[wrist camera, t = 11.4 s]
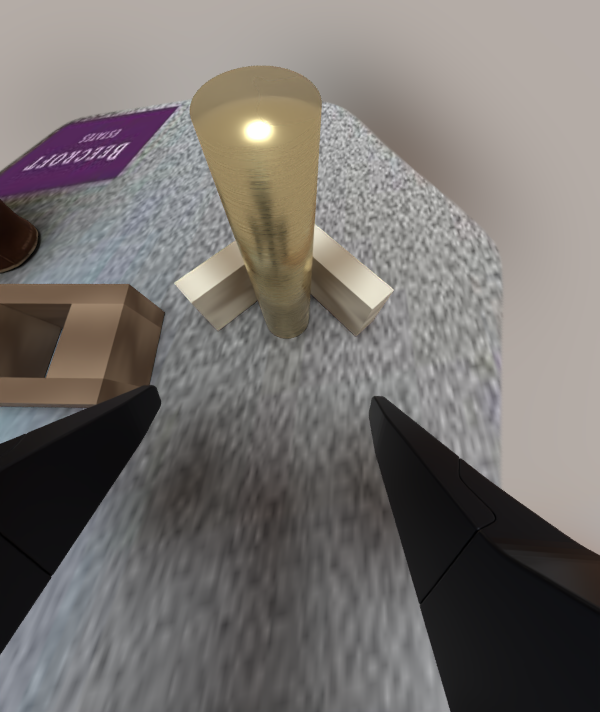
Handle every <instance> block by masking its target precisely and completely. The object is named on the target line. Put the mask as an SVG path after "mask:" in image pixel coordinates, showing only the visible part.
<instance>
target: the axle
mask: <svg viewBox="0 0 600 712" xmlns="http://www.w3.org/2000/svg"><path fill="white" fill-rule="evenodd" d="M321 108H322V100H321V96H320V93H319V91H318V90H317V88H316V87H315V85H314V84H313V83H312V82H311V81H310V80H308V79H307V78H306V77H304V76H302V75H301V74H298V73H296V72H294V71H291V70H288V69H284V68H280V67H274V66H248V67H242V68H237V69H234V70H230V71H227V72H225V73H222V74H220V75H218V76H216V77H214V78H212V79H211V80H209V81H208V82H206V83H205V84H204V85H203V86H202V87H201V88H200V89H199V90H198V91H197V92H196V94H195V95H194V97H193V99H192V101H191V105H190V117H191V120H192V123H193V125H194V128H195V131H196V133H197V136H198V139H199V142H200V144H201V147H202V150H203V152H204V155H205V158H206V161H207V163H208V166H209V169H210V172H211V174H212V177H213V180H214V182H215V185H216V188H217V191H218V193H219V196H220V199H221V202H222V204H223V207H224V210H225V212H226V215H227V218H228V221H229V223H230V226H231V229H232V231H233V234H234V237H235V240H236V242H237V245H238V248H239V251H240V253H241V256H242V259H243V261H244V264H245V267H246V270H247V272H248V275H249V278H250V281H251V283H252V286H253V289H254V291H255V294H256V297H257V300H258V302H259V305H260V308H261V310H262V313H263V316H264V319H265V321H266V324H267V327H268V329H269V330H270V331H271V332H272V333H273V334H274V335H276V336H277V337H280V338H287V339H288V338H294V337H297V336H298V335H300V334H301V333H303V332H304V330H305V329H306V328H307V326H308V323H309V310H310V293H311V276H312V259H313V243H314V226H315V209H316V192H317V176H318V159H319V142H320V125H321Z"/></svg>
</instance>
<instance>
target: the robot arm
mask: <svg viewBox="0 0 600 712" xmlns="http://www.w3.org/2000/svg"><path fill="white" fill-rule="evenodd" d="M160 406H161V399H160V396H159V394H158V391H157V388H156V387H155V386H153V385H143V386H141V387H138V388H136V389H133V390H131V391H128V392H126V393H123V394H121V395H119V396H116V397H114V398H111V399H109V400H106V401H104V402H101V403H99V404H97V405H94V406H92V407H89V408H87V409H84V410H82V411H80V412H77V413H75V414H72V415H70V416H67V417H65V418H62V419H60V420H58V421H55V422H53V423H50V424H48V425H45V426H43V427H41V428H38V429H36V430H33V431H31V432H28V433H27V434H23V435H21V436H18V437H16V438H14V439H11V440H9V441H6V442H4V443H1V444H0V654H1V653H2V651H3V650H4V648H5V647H6V645H7V644H8V642H9V641H10V639H11V638H12V636H13V635H14V633H15V632H16V630H17V629H18V627H19V626H20V624H21V623H22V621H23V620H24V618H25V617H26V615H27V614H28V612H29V611H30V609H31V608H32V606H33V605H34V603H35V602H36V600H37V599H38V597H39V596H40V594H41V593H42V591H43V590H44V588H45V587H46V585H47V583H48V582H49V580H50V579H51V576H52V575H53V574H54V573H55V571H56V570H57V568H58V567H59V565H60V564H61V562H62V561H63V559H64V558H65V556H66V555H67V553H68V551H69V550H70V548H71V547H72V545H73V544H74V542H75V541H76V539H77V538H78V536H79V535H80V533H81V532H82V530H83V529H84V527H85V526H86V524H87V523H88V521H89V520H90V518H91V517H92V515H93V514H94V512H95V511H96V509H97V508H98V506H99V505H100V503H101V502H102V500H103V499H104V497H105V496H106V494H107V493H108V491H109V490H110V488H111V487H112V485H113V484H114V482H115V481H116V479H117V478H118V476H119V475H120V473H121V472H122V470H123V469H124V467H125V466H126V464H127V463H128V461H129V460H130V458H131V457H132V455H133V454H134V452H135V451H136V449H137V448H138V446H139V445H140V443H141V441H142V440H143V438H144V436H145V435H146V433H147V431H148V429H149V427H150V425H151V423H152V421H153V420H154V418H155V416H156V414H157V412H158V410H159V408H160ZM369 420H370V426H371V432H372V438H373V444H374V449H375V454H376V458H377V461H378V464H379V468H380V471H381V475H382V478H383V482H384V485H385V488H386V492H387V495H388V499H389V502H390V505H391V509H392V512H393V516H394V519H395V523H396V526H397V529H398V533H399V536H400V540H401V543H402V547H403V550H404V553H405V557H406V560H407V564H408V567H409V570H410V574H411V577H412V581H413V584H414V588H415V591H416V594H417V598H418V601H419V604H420V609H421V612H422V615H423V619H424V622H425V626H426V629H427V633H428V636H429V639H430V643H431V646H432V650H433V653H434V657H435V660H436V663H437V667H438V670H439V674H440V677H441V681H442V684H443V687H444V691H445V694H446V698H447V701H448V705H449V708H450V711H451V712H600V555H598V554H596V553H594V552H593V551H591V550H589V549H587V548H585V547H584V546H582V545H580V544H579V543H577V542H576V541H574V540H573V539H571V538H570V537H568V536H567V535H565V534H564V533H562V532H561V531H559V530H558V529H557V528H555V527H554V526H552V525H551V524H549V523H548V522H547V521H545V520H544V519H543V518H541V517H540V516H538V515H537V514H536V513H534V512H533V511H531V510H530V509H528V508H527V507H526V506H524V505H523V504H521V503H520V502H518V501H517V500H516V499H514V498H513V497H512V496H510V495H509V494H507V493H506V492H505V491H503V490H502V489H500V488H499V487H498V486H496V485H495V484H494V483H492V482H491V481H489V480H488V479H487V478H486V477H484V476H483V475H482V474H480V473H479V472H478V471H476V470H475V469H474V468H473V467H471V466H470V465H469V464H468V463H466V462H465V461H464V460H463V459H461V458H460V459H459V456H457V455H456V454H455V453H454V452H452V451H451V450H450V449H449V448H447V447H446V446H445V445H444V444H442V443H441V442H440V441H439V440H437V439H436V438H435V437H434V436H432V435H431V434H430V433H429V432H427V431H426V430H425V429H424V428H422V427H421V426H420V425H419V424H417V423H416V422H415V421H414V420H412V419H411V418H410V417H409V416H407V415H406V414H405V413H404V412H402V411H401V410H400V409H399V408H397V407H396V406H395V405H394V404H392V403H391V402H390V401H389V400H387V399H386V398H385V397H383V396H374V397H373V398H372V400H371V405H370V410H369Z"/></svg>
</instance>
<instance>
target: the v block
mask: <svg viewBox="0 0 600 712" xmlns="http://www.w3.org/2000/svg"><path fill="white" fill-rule="evenodd" d="M175 285H176V286H177V287H178V288H179V289H180V290H181V292H182V293H183V294H184V295H185V296H186V297H187V299H188V300H189V301H190V302H191V303H192V304H193V305H194V306H195V307H196V308H197V310H198V311H199V312H200V313H201V314H202V315H203V316H204V317H205V318H206V319H207V320H208V321H209V322H210V323H211V324H212V325H213V327H214V328H215V329H216V330H217V331H219V330H220V329H221V328H223V327H224V326H225V325H227V324H228V323H229V322H231V321H232V320H233V319H234V318H236V317H237V316H238V315H240V314H241V313H242V312H243V311H245V310H246V309H247V308H249V307H250V306H251V305H252V304H254V303H255V302H256V301H258V300H257V297H256V294H255V291H254V289H253V286H252V283H251V281H250V278H249V275H248V272H247V270H246V267H245V264H244V261H243V259H242V256H241V253H240V251H239V248H238V245H237V242H236V240H235V241H234V242H232V243H231V244H229V245H228V246H227V247H225V248H224V249H222V250H221V251H219V252H218V253H217V254H215V255H214V256H212V257H211V258H209V259H208V260H206V261H205V262H204V263H202V264H201V265H199V266H198V267H196V268H195V269H194V270H192V271H191V272H189V273H188V274H186V275H185V276H183V277H182V278H181V279H179V280H178V281H176V282H175ZM393 291H394V290H393V289H392V288H391V287H390V286H389V285H387V284H386V283H385V282H384V281H383V280H381V279H380V278H379V277H378V276H377V275H375V274H374V273H373V272H372V271H371V270H369V269H368V268H367V267H366V266H365V265H363V264H362V263H361V262H360V261H359V260H357V259H356V258H355V257H354V256H353V255H351V254H350V253H349V252H348V251H347V250H345V249H344V248H343V247H342V246H341V245H339V244H338V243H337V242H336V241H334V240H333V239H332V238H331V237H330V236H328V235H327V234H326V233H325V232H324V231H322V230H321V229H320V228H319V227H318V226H316V225H315V226H314V243H313V259H312V276H311V293H310V294H311V295H312V296H313V297H315V298H316V299H317V300H318V301H319V302H320V303H321V304H322V305H323V306H324V307H325V308H326V309H327V310H328V311H329V312H330V313H331V314H333V315H334V316H335V317H336V318H337V319H338V320H339V321H340V322H341V323H342V324H343V325H344V326H345V327H346V328H347V329H348V330H350V331H351V332H352V333H353V334H354V335H355V336H357V335H358V334H359V333H360V332H362V331H363V330H364V329H365V328H366V327H367V326H368V325H369V324H370V323H371V322H373V320H374V319H375V317H376V316H377V314H378V313H379V311H380V310H381V308H382V307H383V305H384V304H385V303H386V301H387V300H388V298H389V297H390V295H391V294H392V292H393Z"/></svg>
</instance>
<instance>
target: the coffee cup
mask: <svg viewBox="0 0 600 712" xmlns="http://www.w3.org/2000/svg"><path fill="white" fill-rule="evenodd" d="M37 240H38V232H37V230H36V228H35V227H34V226H33V225H32V224H31V223H30V222H28V221H27V220H25V219H23V218H21V217H19V216H18V215H17V214H15V213H14V212H13V211H12V210H11V209H10V208H9V207H8V206H6V205H5V204H4V203H3V202H2V201H1V199H0V273H1V272H5V271H8V270H11V269H13V268H15V267H18V266H19V265H21V264H22V263H23V262H24V261H25V260H26V259H27V258H28V257H29V256H30V255H31V254H32V253H33V251H34V249H35V247H36V245H37Z"/></svg>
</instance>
